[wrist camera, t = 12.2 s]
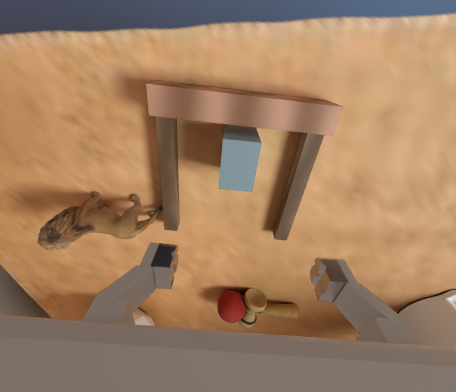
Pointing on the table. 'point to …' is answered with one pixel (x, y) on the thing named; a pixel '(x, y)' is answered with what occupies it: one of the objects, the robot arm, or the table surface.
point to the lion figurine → (92, 223)
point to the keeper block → (239, 158)
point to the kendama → (251, 307)
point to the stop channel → (243, 116)
